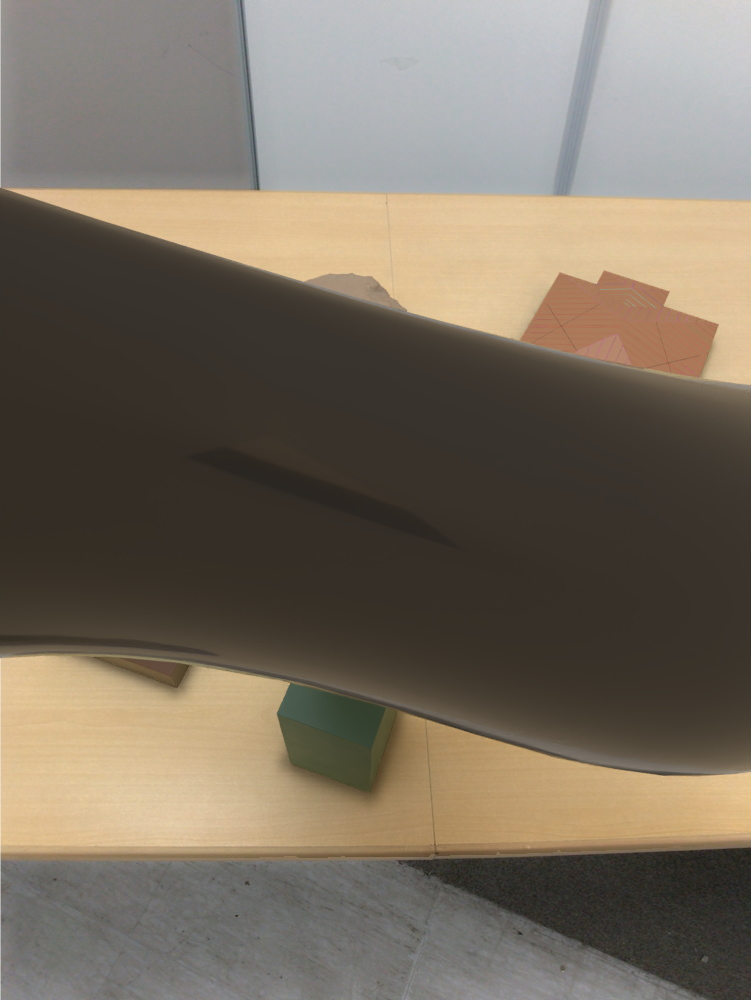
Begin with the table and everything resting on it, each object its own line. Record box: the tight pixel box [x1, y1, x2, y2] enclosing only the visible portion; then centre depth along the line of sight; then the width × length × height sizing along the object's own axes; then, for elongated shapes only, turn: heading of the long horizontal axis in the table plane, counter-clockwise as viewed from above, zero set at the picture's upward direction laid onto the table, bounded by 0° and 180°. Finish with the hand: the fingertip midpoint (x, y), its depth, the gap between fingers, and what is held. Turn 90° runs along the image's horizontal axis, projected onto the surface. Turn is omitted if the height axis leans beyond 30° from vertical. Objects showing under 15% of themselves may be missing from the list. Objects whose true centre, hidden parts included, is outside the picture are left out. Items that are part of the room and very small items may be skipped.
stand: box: [276, 683, 398, 794], centre depth 66 cm, size 8×8×14 cm
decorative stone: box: [303, 272, 408, 312], centre depth 98 cm, size 20×8×10 cm, turn 66°
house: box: [519, 270, 720, 378], centre depth 96 cm, size 23×33×8 cm
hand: (308, 573), depth 47 cm, fingers closed on amber bottle, 5 cm apart
